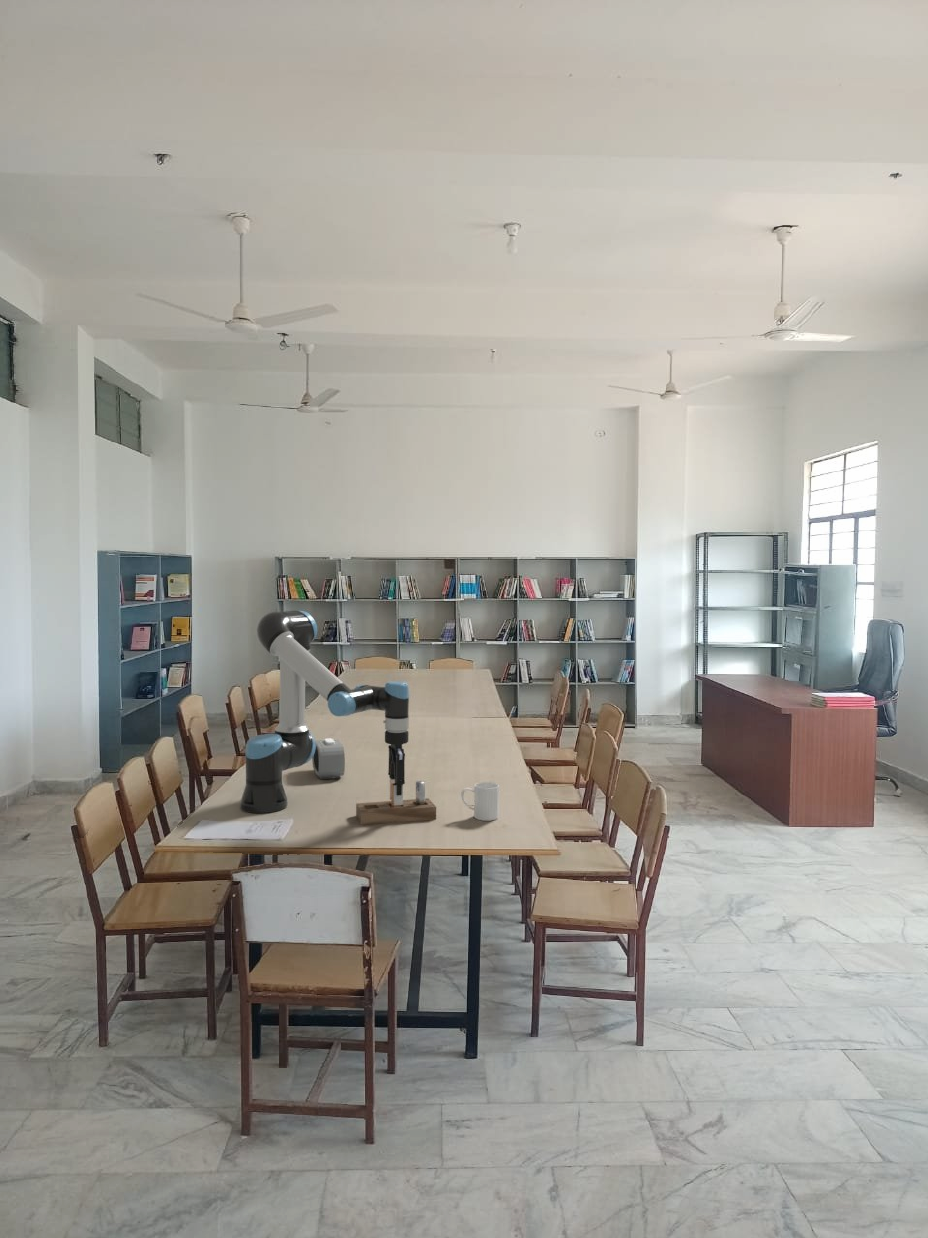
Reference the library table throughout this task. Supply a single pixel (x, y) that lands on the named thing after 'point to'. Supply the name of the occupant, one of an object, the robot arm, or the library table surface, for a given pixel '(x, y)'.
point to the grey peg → (420, 793)
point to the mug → (485, 801)
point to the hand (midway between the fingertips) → (396, 801)
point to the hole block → (394, 812)
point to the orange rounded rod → (393, 796)
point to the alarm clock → (329, 759)
